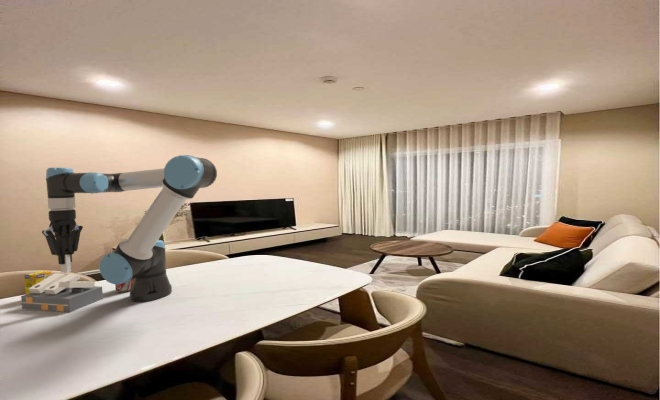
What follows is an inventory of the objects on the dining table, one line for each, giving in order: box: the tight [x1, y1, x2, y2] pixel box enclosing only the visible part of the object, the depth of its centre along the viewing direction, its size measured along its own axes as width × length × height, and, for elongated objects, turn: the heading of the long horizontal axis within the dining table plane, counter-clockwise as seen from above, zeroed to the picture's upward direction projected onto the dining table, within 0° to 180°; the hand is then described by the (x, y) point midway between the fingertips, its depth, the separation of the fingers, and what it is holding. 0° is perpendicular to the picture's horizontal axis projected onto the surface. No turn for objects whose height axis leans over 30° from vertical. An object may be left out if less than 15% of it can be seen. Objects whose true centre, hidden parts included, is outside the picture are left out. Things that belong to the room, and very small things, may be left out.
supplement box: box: [23, 270, 52, 295], centre depth 123 cm, size 6×6×11 cm
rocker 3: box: [58, 280, 96, 288], centre depth 116 cm, size 5×10×2 cm, turn 170°
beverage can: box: [114, 279, 134, 294], centre depth 132 cm, size 8×8×12 cm
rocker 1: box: [29, 272, 66, 294], centre depth 119 cm, size 5×10×2 cm, turn 170°
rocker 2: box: [43, 273, 81, 294], centre depth 117 cm, size 5×10×2 cm, turn 170°
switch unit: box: [20, 285, 104, 313], centre depth 118 cm, size 22×13×6 cm, turn 80°
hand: (66, 272), depth 112 cm, fingers closed
